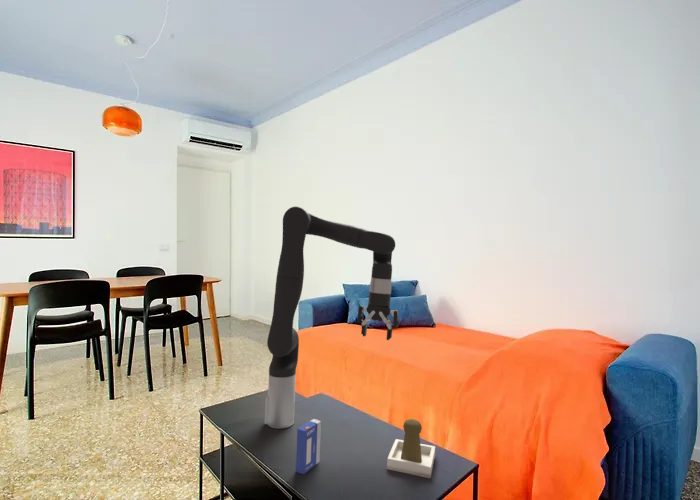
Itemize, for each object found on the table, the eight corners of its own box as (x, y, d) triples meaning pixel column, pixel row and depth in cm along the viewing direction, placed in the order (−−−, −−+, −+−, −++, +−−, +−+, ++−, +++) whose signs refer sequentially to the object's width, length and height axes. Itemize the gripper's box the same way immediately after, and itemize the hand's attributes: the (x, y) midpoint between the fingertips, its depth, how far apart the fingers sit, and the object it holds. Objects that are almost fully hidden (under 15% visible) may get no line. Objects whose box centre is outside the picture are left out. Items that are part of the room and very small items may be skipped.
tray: (387, 469, 106) (387, 458, 106) (395, 448, 118) (395, 438, 118) (430, 478, 103) (430, 467, 103) (435, 456, 114) (435, 446, 114)
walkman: (303, 474, 102) (305, 430, 102) (295, 471, 104) (297, 427, 104) (320, 461, 109) (321, 419, 109) (312, 458, 110) (313, 417, 111)
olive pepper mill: (398, 453, 113) (400, 416, 113) (418, 453, 113) (420, 416, 114) (403, 465, 107) (404, 425, 107) (424, 464, 107) (425, 425, 108)
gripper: (357, 289, 132) (353, 336, 131) (398, 294, 127) (394, 343, 127) (363, 288, 139) (359, 333, 138) (402, 293, 134) (398, 339, 134)
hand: (376, 337), depth 133 cm, fingers open, 8 cm apart
